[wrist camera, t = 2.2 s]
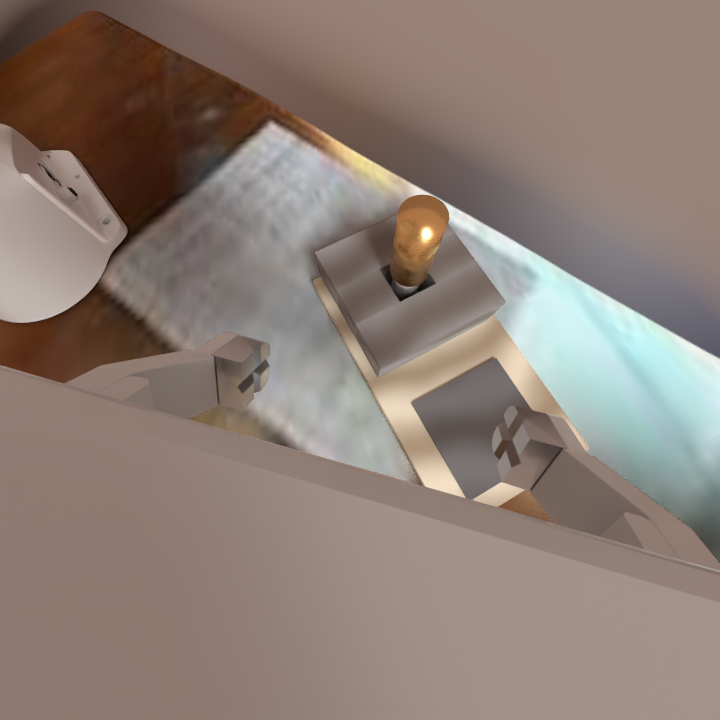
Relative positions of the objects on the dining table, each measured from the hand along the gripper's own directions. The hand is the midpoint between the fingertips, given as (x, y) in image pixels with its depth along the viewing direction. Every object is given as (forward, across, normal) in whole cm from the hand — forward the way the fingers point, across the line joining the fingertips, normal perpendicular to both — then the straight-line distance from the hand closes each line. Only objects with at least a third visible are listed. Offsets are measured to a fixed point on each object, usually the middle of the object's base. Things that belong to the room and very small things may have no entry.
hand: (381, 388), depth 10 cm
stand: (+18, -5, +8) cm, 20 cm away
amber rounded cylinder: (+20, 0, +3) cm, 21 cm away
